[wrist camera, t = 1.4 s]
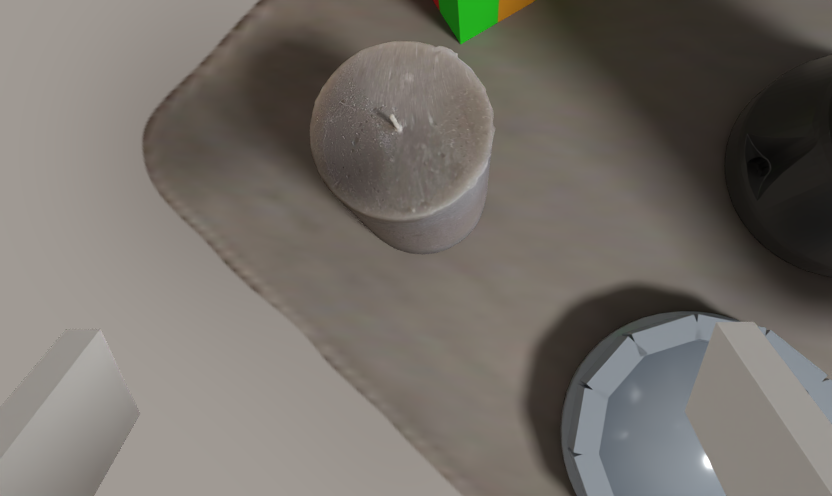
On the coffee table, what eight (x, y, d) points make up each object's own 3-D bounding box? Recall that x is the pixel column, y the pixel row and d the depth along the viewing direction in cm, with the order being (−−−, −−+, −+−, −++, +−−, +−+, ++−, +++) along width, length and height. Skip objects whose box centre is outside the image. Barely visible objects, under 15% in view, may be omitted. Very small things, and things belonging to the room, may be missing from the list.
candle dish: (668, 261, 38) (688, 254, 34) (883, 434, 35) (931, 446, 31) (509, 443, 37) (512, 455, 34) (713, 634, 34) (740, 671, 31)
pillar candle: (340, 224, 41) (265, 170, 26) (393, 111, 42) (349, -3, 27) (456, 276, 40) (446, 249, 25) (509, 157, 40) (529, 64, 26)
